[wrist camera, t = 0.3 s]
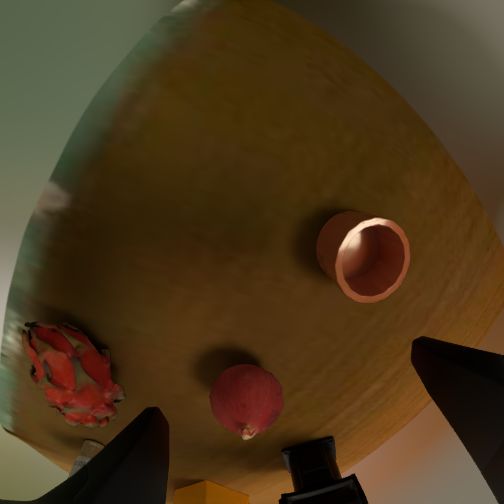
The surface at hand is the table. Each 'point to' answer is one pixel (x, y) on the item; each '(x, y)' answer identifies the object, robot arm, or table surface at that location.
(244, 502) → the orange juice
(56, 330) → the dragon fruit
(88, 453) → the sprinkles bottle
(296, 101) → the table surface
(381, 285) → the cup
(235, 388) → the onion
